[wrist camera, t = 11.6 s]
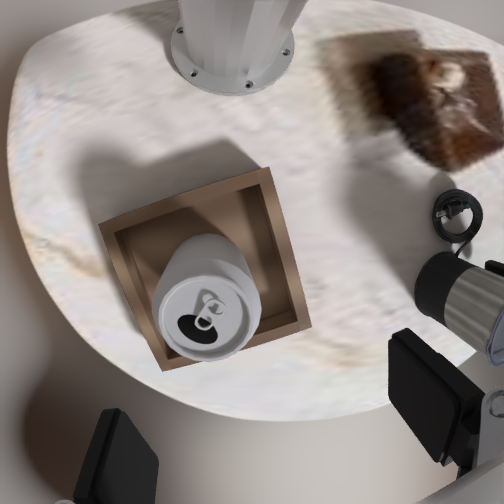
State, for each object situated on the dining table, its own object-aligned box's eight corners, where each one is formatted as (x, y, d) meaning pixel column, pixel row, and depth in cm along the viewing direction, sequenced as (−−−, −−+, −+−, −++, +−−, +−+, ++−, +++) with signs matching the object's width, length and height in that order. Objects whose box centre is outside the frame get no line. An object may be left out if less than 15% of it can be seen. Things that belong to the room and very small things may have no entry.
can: (157, 278, 30) (127, 335, 18) (197, 216, 29) (186, 240, 17) (218, 316, 31) (223, 387, 20) (260, 259, 31) (289, 306, 19)
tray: (112, 218, 29) (98, 224, 25) (262, 168, 30) (269, 166, 26) (166, 352, 33) (162, 371, 29) (301, 311, 34) (312, 327, 30)
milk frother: (424, 328, 37) (492, 382, 23) (381, 239, 33) (471, 278, 19) (484, 266, 36) (556, 297, 22) (454, 175, 32) (543, 184, 18)
